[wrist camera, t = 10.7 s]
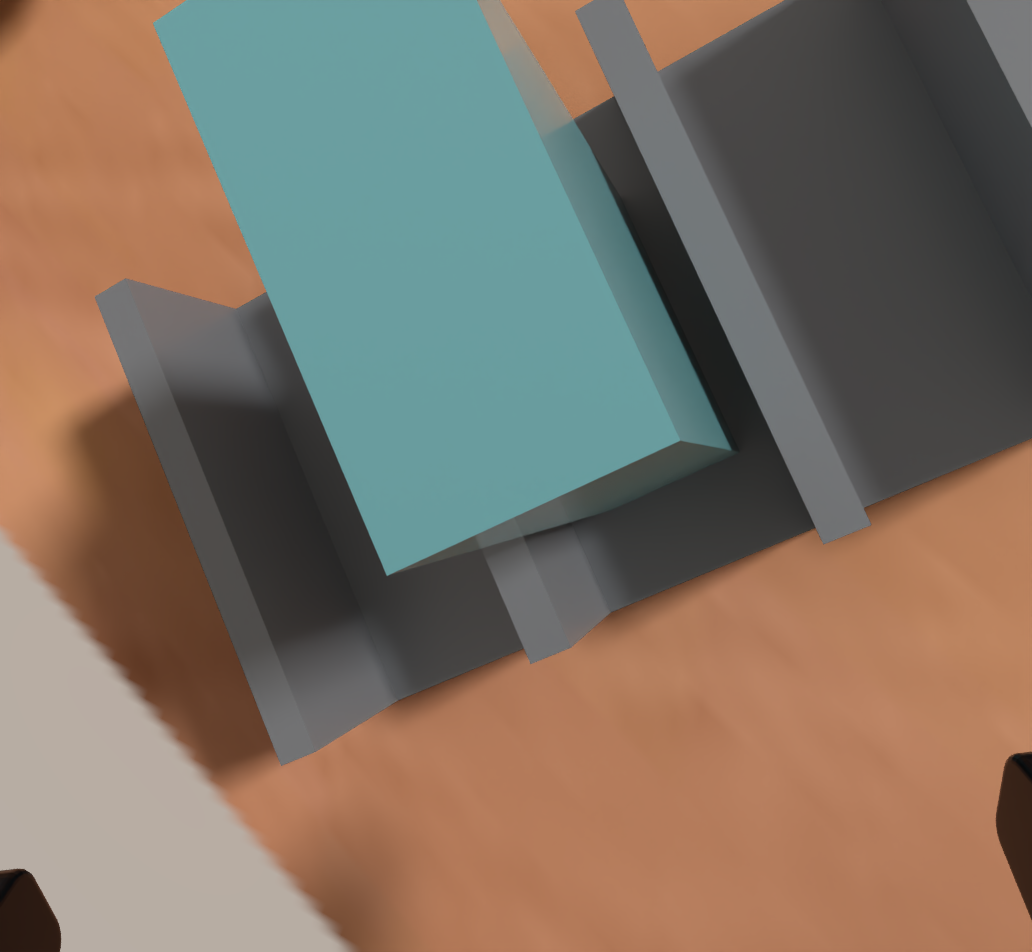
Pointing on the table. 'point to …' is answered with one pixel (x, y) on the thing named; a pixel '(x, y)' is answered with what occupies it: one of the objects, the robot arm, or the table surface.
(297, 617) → the rack
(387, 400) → the block
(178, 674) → the table surface
